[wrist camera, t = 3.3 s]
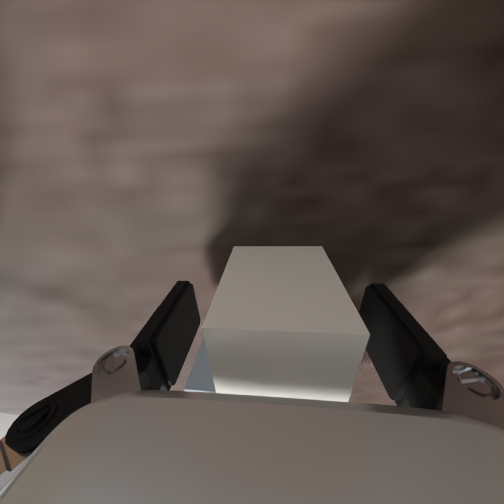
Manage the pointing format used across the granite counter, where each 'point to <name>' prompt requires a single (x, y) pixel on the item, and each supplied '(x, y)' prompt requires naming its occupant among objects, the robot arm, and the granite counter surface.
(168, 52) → the granite counter surface
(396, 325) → the robot arm
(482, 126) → the granite counter surface
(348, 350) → the white block
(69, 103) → the granite counter surface
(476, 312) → the granite counter surface
